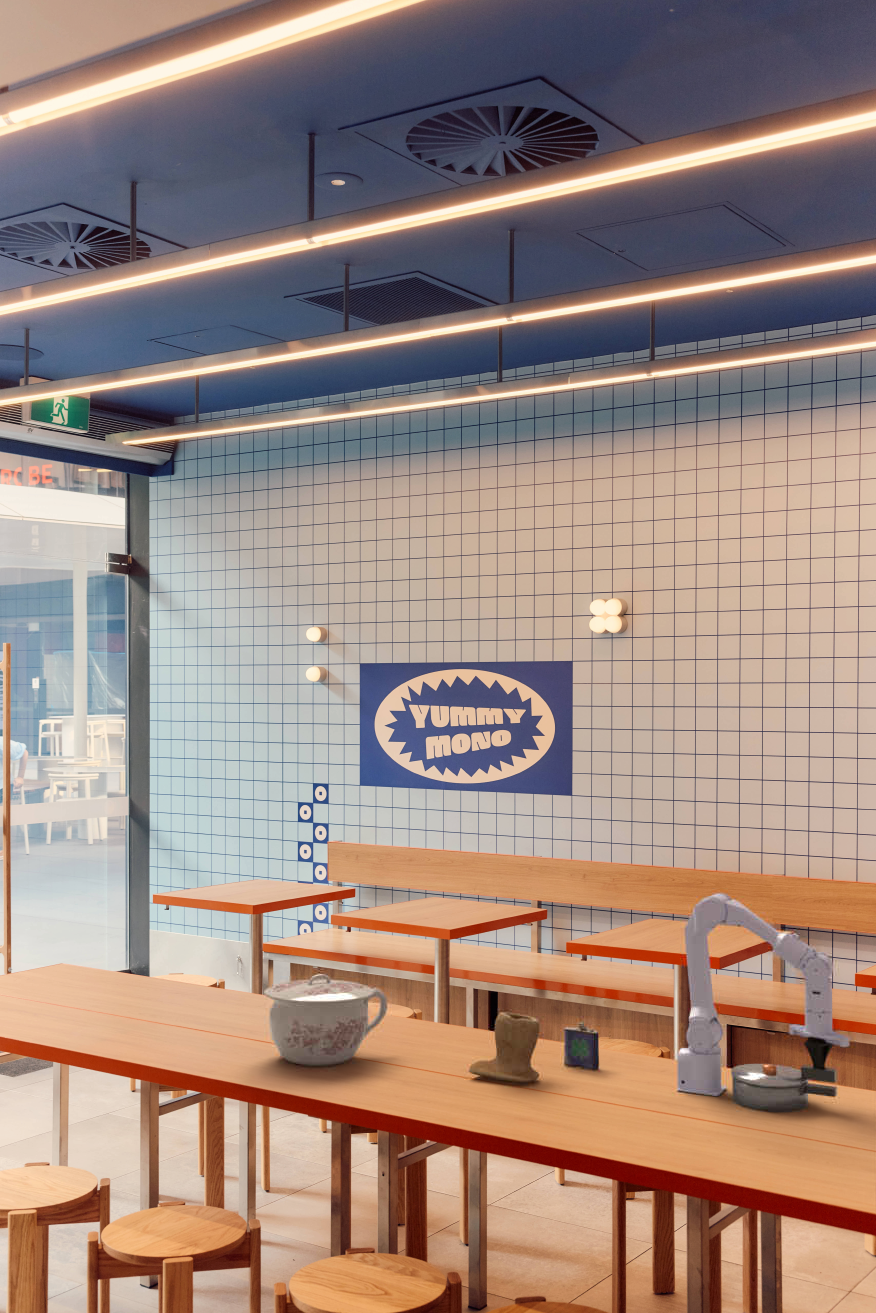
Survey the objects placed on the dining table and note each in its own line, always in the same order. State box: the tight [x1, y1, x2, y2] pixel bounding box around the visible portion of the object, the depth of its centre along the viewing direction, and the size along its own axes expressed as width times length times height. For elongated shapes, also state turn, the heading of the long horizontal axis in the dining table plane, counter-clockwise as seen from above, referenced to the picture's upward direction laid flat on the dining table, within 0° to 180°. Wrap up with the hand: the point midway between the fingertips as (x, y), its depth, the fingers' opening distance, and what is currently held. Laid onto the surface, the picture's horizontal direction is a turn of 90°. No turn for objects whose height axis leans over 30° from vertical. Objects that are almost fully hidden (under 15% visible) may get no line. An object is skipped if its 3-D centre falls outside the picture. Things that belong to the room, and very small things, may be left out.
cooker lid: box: [730, 1063, 838, 1088], centre depth 267 cm, size 22×16×3 cm
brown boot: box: [468, 1012, 540, 1083], centre depth 285 cm, size 15×12×15 cm
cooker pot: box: [731, 1076, 838, 1113], centre depth 266 cm, size 22×16×5 cm
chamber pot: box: [263, 973, 388, 1067], centre depth 301 cm, size 28×28×21 cm
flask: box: [563, 1021, 600, 1071], centre depth 297 cm, size 9×3×11 cm, turn 55°
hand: (819, 1074), depth 266 cm, fingers closed, pressing on cooker lid
